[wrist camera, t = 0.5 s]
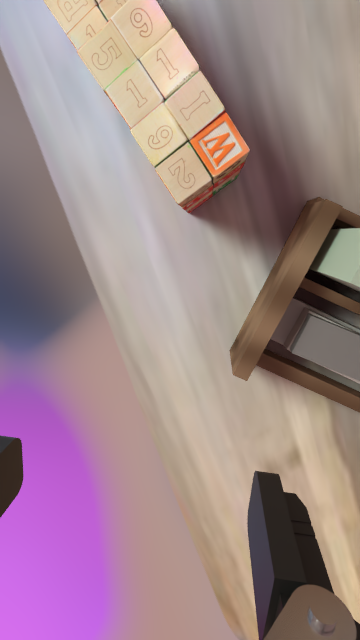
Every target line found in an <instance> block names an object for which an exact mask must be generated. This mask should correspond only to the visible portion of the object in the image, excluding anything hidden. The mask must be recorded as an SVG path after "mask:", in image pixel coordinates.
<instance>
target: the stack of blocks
mask: <svg viewBox="0 0 360 640" xmlns="http://www.w3.org/2000/svg"><path fill="white" fill-rule="evenodd" d="M43 1H44V2H45V4H46V5H47V7H48V8H49V10H50V11H51V12H52V14H53V15H54V17H55V18H56V20H57V21H58V23H59V24H60V26H61V27H62V29H63V30H64V32H65V33H66V35H67V36H68V38H69V39H70V41H71V42H72V44H73V45H74V47H75V48H76V50H77V53H78V55H79V56H80V58H81V59H82V60H83V62H84V63H85V65H86V66H87V68H88V69H89V71H90V72H91V73H92V75H93V76H94V78H95V79H96V81H97V82H98V84H99V85H100V87H101V88H102V89H103V91H104V92H105V93H106V95H107V96H108V97H109V99H110V100H111V101H112V103H113V104H114V106H115V107H116V108H117V110H118V111H119V112H120V114H121V115H122V117H123V118H124V120H125V121H126V123H127V124H128V126H129V127H130V132H131V134H132V135H133V137H134V138H135V140H136V141H137V143H138V144H139V146H140V147H141V148H142V150H143V151H144V153H145V155H146V156H147V158H148V159H149V161H150V162H151V164H152V165H153V166H154V167H155V170H156V172H157V173H158V175H159V176H160V178H161V180H162V181H163V183H164V184H165V186H166V187H167V189H168V190H169V192H170V193H171V195H172V196H173V198H174V199H175V201H176V202H177V204H178V205H180V206H181V207H182V208H183V209H184V210H186V211H187V212H188V213H190V212H192V211H193V210H194V209H196V208H197V207H199V206H200V205H201V204H203V203H204V202H205V201H207V200H208V199H209V198H211V197H212V196H213V195H214V194H215V193H217V192H218V191H220V190H221V189H222V188H224V187H225V186H227V185H228V184H229V183H231V182H232V181H234V180H235V179H236V178H237V177H238V175H239V172H240V170H241V168H242V167H243V166H244V164H245V161H246V157H247V156H248V154H249V152H250V149H249V147H248V146H247V144H246V142H245V141H244V139H243V138H242V136H241V135H240V133H239V131H238V130H237V128H236V127H235V125H234V123H233V122H232V120H231V118H230V117H229V115H228V114H227V113H226V112H225V107H224V105H223V104H222V102H221V101H220V99H219V98H218V96H217V95H216V93H215V92H214V90H213V88H212V87H211V85H210V84H209V82H208V81H207V79H206V78H205V76H204V75H203V73H202V72H201V71H200V67H199V65H198V63H197V62H196V60H195V58H194V57H193V55H192V54H191V52H190V51H189V49H188V48H187V46H186V44H185V43H184V41H183V40H182V38H181V37H180V35H179V34H178V32H177V31H176V30H175V29H174V28H173V27H172V24H171V22H170V21H169V19H168V18H167V16H166V15H165V13H164V11H163V10H162V8H161V7H160V5H159V4H158V2H157V1H156V0H43Z"/></svg>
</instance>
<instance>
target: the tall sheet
mask: <svg viewBox="0 0 360 640" xmlns="http://www.w3.org/2000/svg"><path fill="white" fill-rule="evenodd" d="M309 269H310V270H312V271H315V272H317V273H319V274H321V275H323V276H325V277H328V278H330V279H332V280H334V281H336V282H338V283H340V284H343V285H345V286H347V287H349V288H351V289H353V290H356V291H358V292H360V228H351V229H330V231H329V233H328V235H327V236H326V238H325V240H324V242H323V244H322V245H321V247H320V249H319V251H318V253H317V255H316V256H315V258H314V260H313V262H312V264H311V265H310V267H309Z"/></svg>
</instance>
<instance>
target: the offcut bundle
mask: <svg viewBox="0 0 360 640" xmlns="http://www.w3.org/2000/svg"><path fill="white" fill-rule="evenodd" d="M270 339H272V340H274V341H276V342H278V343H280V344H282V345H284V346H285V348H286V349H287V350H289V351H291V353H293V354H295V355H297V356H300V357H302V358H305V359H307V360H310V361H312V362H314V363H316V364H318V365H321V366H323V367H325V368H327V369H329V370H331V371H333V372H335V373H338V374H340V375H342V376H344V377H346V378H348V379H350V380H352V381H355V382H357V383H359V384H360V328H358V327H355V326H353V325H351V324H349V323H347V322H345V321H343V320H341V319H339V318H337V317H334V316H332V315H330V314H328V313H326V312H324V311H322V310H320V309H318V308H315V307H313V306H311V305H309V304H307V303H305V302H303V301H301V300H299V299H296V298H294V297H293V298H292V300H291V302H290V304H289V305H288V307H287V309H286V311H285V313H284V315H283V316H282V318H281V320H280V322H279V324H278V326H277V327H276V329H275V331H274V333H273V335H272V336H271V338H270Z"/></svg>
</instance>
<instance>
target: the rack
mask: <svg viewBox="0 0 360 640" xmlns="http://www.w3.org/2000/svg"><path fill="white" fill-rule="evenodd" d="M332 225H335V226H337V227H339V228H342V229H351V228H360V216H359V215H357V214H354V213H352V212H350V211H348V210H346V209H344V208H342V206H340V205H338V204H336V203H334V202H332V201H330V200H327V199H325V200H324V199H322V198H320V197H318V198H315V199H312V200H309V201H307V203H306V205H305V207H304V209H303V211H302V213H301V215H300V216H299V218H298V220H297V222H296V224H295V226H294V228H293V230H292V232H291V234H290V236H289V238H288V240H287V241H286V243H285V245H284V247H283V249H282V251H281V253H280V255H279V257H278V259H277V261H276V263H275V265H274V267H273V268H272V270H271V272H270V274H269V276H268V278H267V280H266V282H265V284H264V286H263V288H262V290H261V292H260V293H259V295H258V297H257V299H256V301H255V303H254V305H253V307H252V309H251V311H250V313H249V315H248V317H247V319H246V320H245V322H244V324H243V326H242V328H241V330H240V332H239V334H238V336H237V338H236V340H235V342H234V344H233V345H232V347H231V349H230V356H231V364H232V372H233V375H235V376H237V377H239V378H241V379H244V380H246V381H247V380H248V378H249V376H250V375H251V373H252V371H253V369H254V367H255V366H256V365H257V366H259V367H261V368H264V369H266V370H268V371H270V372H272V373H275V374H277V375H279V376H281V377H283V378H285V379H288V380H290V381H292V382H294V383H296V384H299V385H301V386H303V387H305V388H307V389H310V390H312V391H314V392H316V393H318V394H320V395H323V396H325V397H327V398H329V399H331V400H334V401H336V402H338V403H340V404H342V405H345V406H347V407H349V408H351V409H353V410H355V411H358V412H360V392H359V391H357V390H354V389H352V388H350V387H348V386H346V385H344V384H341V383H339V382H337V381H335V380H333V379H330V378H328V377H326V376H324V375H322V374H320V373H317V372H315V371H313V370H311V369H309V368H306V367H304V366H302V365H300V364H298V363H296V362H293V361H291V360H289V359H287V358H285V357H282V356H280V355H278V354H276V353H274V352H272V351H269V350H267V349H265V347H266V346H267V344H268V342H269V340H270V338H271V336H272V335H273V333H274V331H275V329H276V327H277V326H278V324H279V322H280V320H281V318H282V316H283V315H284V313H285V311H286V309H287V307H288V305H289V304H290V302H291V300H292V298H293V296H294V295H295V293H296V291H297V289H298V287H300V288H303V289H305V290H307V291H309V292H311V293H313V294H316V295H318V296H320V297H322V298H324V299H326V300H329V301H331V302H333V303H335V304H337V305H339V306H342V307H344V308H346V309H348V310H350V311H352V312H355V313H357V314H359V315H360V303H359V302H357V301H354V300H352V299H350V298H348V297H346V296H344V295H341V294H339V293H337V292H335V291H333V290H331V289H328V288H326V287H324V286H322V285H320V284H318V283H315V282H313V281H311V280H309V279H307V278H305V277H304V276H305V275H306V273H307V271H308V269H309V267H310V265H311V264H312V262H313V260H314V258H315V256H316V255H317V253H318V251H319V249H320V247H321V245H322V244H323V242H324V240H325V238H326V236H327V235H328V233H329V231H330V229H331V227H332Z"/></svg>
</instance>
